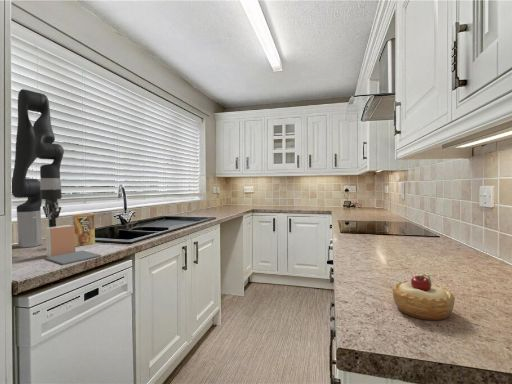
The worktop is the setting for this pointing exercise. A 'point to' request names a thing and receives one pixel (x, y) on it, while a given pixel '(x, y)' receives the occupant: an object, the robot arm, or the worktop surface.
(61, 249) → the tan block
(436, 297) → the pastry
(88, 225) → the candy box
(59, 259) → the mat
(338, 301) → the worktop surface
